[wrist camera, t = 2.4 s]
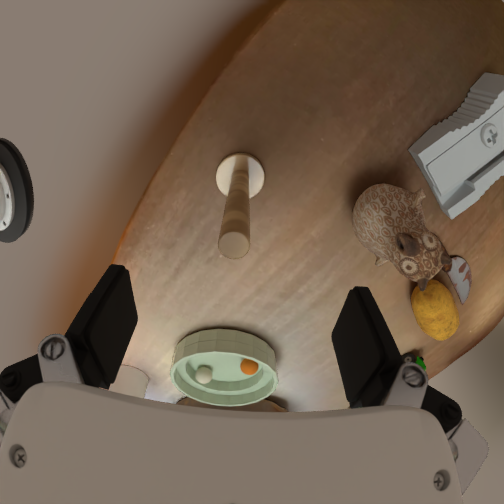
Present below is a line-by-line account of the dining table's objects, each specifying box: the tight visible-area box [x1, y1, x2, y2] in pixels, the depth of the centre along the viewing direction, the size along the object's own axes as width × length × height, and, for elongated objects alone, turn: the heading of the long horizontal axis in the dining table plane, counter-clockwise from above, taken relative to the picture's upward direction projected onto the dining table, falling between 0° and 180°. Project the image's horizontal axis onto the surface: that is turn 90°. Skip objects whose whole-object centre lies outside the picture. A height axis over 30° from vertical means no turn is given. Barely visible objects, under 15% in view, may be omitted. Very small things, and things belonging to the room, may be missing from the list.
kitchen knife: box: [440, 242, 471, 305], centre depth 35 cm, size 21×2×5 cm
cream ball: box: [195, 367, 212, 384], centre depth 43 cm, size 3×3×3 cm
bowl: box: [170, 329, 278, 406], centre depth 42 cm, size 17×17×5 cm
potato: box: [411, 280, 459, 340], centre depth 35 cm, size 7×14×7 cm, turn 46°
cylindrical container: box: [109, 365, 149, 398], centre depth 37 cm, size 7×7×25 cm
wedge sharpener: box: [408, 73, 504, 219], centre depth 21 cm, size 11×20×7 cm, turn 137°
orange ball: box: [240, 358, 259, 375], centre depth 42 cm, size 3×3×3 cm
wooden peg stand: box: [216, 153, 265, 259], centre depth 22 cm, size 5×5×15 cm
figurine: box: [352, 182, 452, 291], centre depth 23 cm, size 9×10×15 cm
